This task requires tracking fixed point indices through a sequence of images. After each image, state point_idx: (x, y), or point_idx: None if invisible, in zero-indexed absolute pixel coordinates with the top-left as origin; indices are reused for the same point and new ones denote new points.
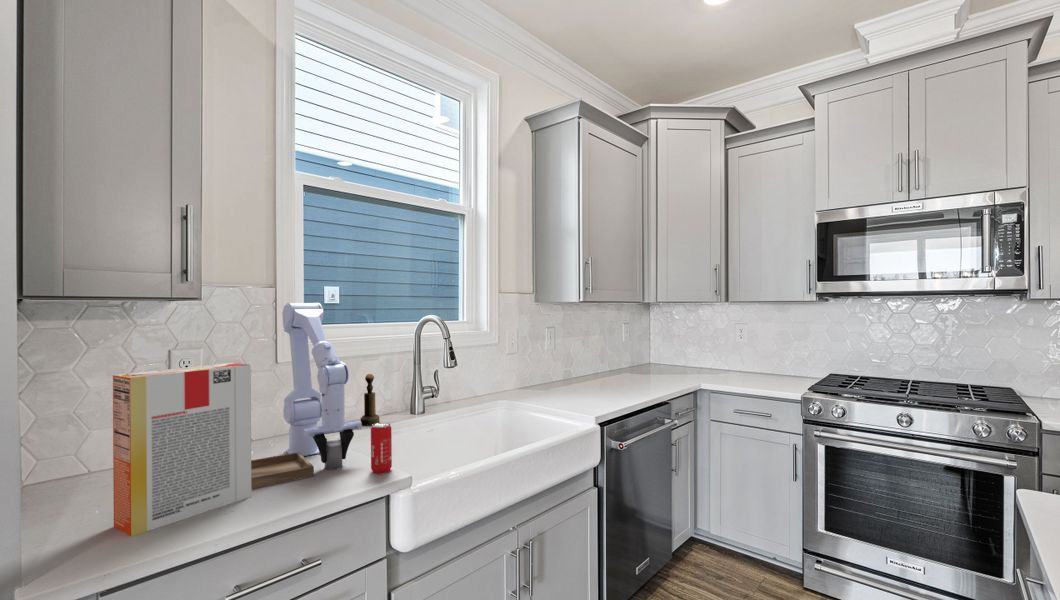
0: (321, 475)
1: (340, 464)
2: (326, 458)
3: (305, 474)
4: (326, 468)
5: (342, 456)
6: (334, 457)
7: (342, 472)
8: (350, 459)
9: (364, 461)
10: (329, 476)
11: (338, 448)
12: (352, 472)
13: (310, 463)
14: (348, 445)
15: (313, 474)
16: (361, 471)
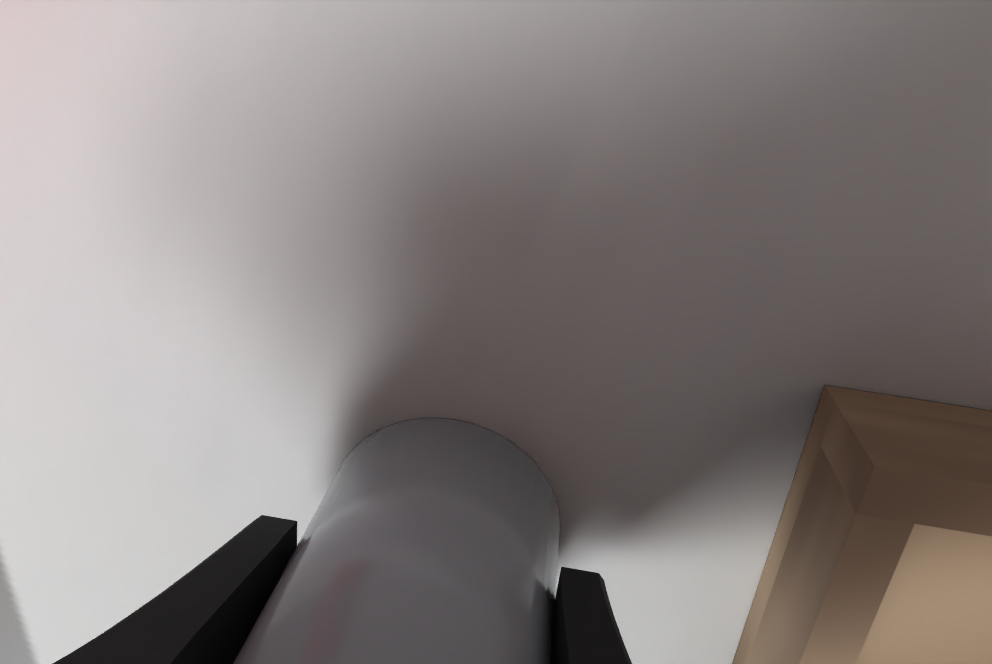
0: (729, 332)
1: (369, 458)
2: (546, 621)
3: (968, 431)
4: (555, 514)
5: (281, 571)
6: (442, 541)
7: (436, 230)
8: None
9: (31, 447)
10: (669, 196)
11: (316, 652)
12: (314, 109)
13: (808, 641)
14: (81, 648)
15: (836, 397)
16: (180, 45)
